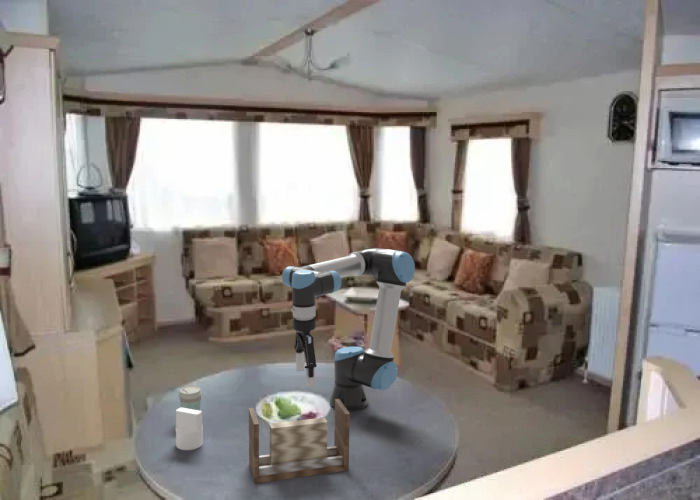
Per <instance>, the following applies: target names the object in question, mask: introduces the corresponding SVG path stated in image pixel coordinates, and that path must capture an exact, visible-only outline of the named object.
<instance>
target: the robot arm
mask: <svg viewBox="0 0 700 500" xmlns="http://www.w3.org/2000/svg"><path fill="white" fill-rule="evenodd" d="M415 267H416V266H415V261H414V259H413V257H412V255H411V254H409V253H408V252H406V251H403V250H402V251H401V250H397V249H396V250H394V249H389V248H387V249H386V248H380V247H373V248H372V247H371V248H367V249H361V250H357V251H353V252H350V253H349V254H348V255H346V256H343V257H337V258H334V259H330V260H326V261H321V262H318V263H313V264H309V265H304V266H303V265H302V266H291V265H290V266H287V267H286V268H284V269H283V271H282V275H281V279H282V283H283V285H284V286H286V287H288V288H290V289H291V295H292V296H291V299H292V301H291V302H292V308H291V309H290V311H291V312H292V317H293V318H292V328H293V330H294V331H295V337H294V338H295V339H294V347H293V348H294V351H295V368H296V370H295V371H296V372H297V373H298V372H305V385H306V387H313V386H314V387H315V384H316V383H315V382H316V381H315V377H316V376H315V368H317V360H316V352H315V346H314V336H312V334H311V331H314V330H315V329H316V326H317V325H316V313H317V312H316V298H317V297H321V296H324V295H325V296H326V295H330V294H333V293H336V292H337V291H339V290H340V289H341V286H342V278H345V277H346V278H347V277H349V276H355V277H359V276H369V277H375V278H376V284H377V285H378V287H379V288H378V293H377V298H376V304H375V305H376V306H375V310H374V311H375V312H374V317H373V323H372V329H371V334H370V340H369V345H368V348H366V349H364V348H363V347H361V346H345V347H341V348H339V349H337V350H336V351H335V353H334V386H333V388H332V392H331V394H330V398H329V404H331V405H332V406H333V407H332V406H331V405H330V406H331V407H332V408H334V407H335V399H340V401H341V402H342V403H343V405H344V406H345V408H346V409H347V410H353V411H358V410H357V409H359V410H362V409H364V408H366V406H367V405H368V397H367V394H366V390H365V388H364V386H366V387H368V388H371V389H373V390H377V391H382V392H383V391H387V390H389V389H390V388H391V387H392V386H393V385H394V383H395V381H396V379H397V378H398V377H397V376H398V372H399V369H398V365H397V364H396V363H395V361H394V358H395V355H394V354H393V352H392V346H393V340H394V335H395V329H396V323H397V317H398V311H399V304H400V301H401V300H400V299H401V294H402V290H404V289H405V288H406V287H407V284H408V283H410V282H411V281H412V280H413V278H414V275H415V273H416V268H415ZM305 363H306V365H305ZM363 407H364V408H363ZM361 408H362V409H361Z"/></svg>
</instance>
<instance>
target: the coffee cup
mask: <svg viewBox="0 0 700 500" xmlns="http://www.w3.org/2000/svg"><path fill="white" fill-rule="evenodd" d="M202 395H203V391H202V389H201V388H200V387H199V386H197V385H195V386H194V385H188V386H184V387H181V389H180V390H179V392H178V397H179V403H180V408H181V407H182V408H188V409H193V410H199V411H201V402H202V401H201V400H202Z"/></svg>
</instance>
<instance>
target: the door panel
mask: <svg viewBox="0 0 700 500" xmlns="http://www.w3.org/2000/svg"><path fill="white" fill-rule="evenodd" d="M328 424H329V423H328V420H327V419H326V417H316V418H310V419H309V418H308V419H299V420H291V421H281V422H273V423H269V454H270V465H275V464H282V463H290V462H297V461H305V460H312V459H320V458H327V447H328V431H329V430H328Z"/></svg>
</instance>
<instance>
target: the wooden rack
mask: <svg viewBox="0 0 700 500" xmlns="http://www.w3.org/2000/svg"><path fill="white" fill-rule="evenodd" d="M350 418H351V414H350V411H348V410H347V409H346V408H345V406H344V405H343V403H342V402H341V401H340V399H335V408H334V435H333V436H334V437H333V438H334V440H333V441H334V442H333V443H334V444H333V446H327V458H320V459H312V460H305V461H297V462H290V463H282V464H275V465H270V453H269V454H263V455H260V423H259V420H258V417H257V414H256V411H255V408H254V407H248V464H249V468H250V473H251V475H252V480H253V484H260V483H268V482H275V481H281V480H290V479H297V478H301V477H309V476H317V475H322V474H323V475H325V474H332V473H339V472H344V471H345V472H346V471H349V470H350V428H351V425H350V422H351V419H350Z"/></svg>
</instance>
